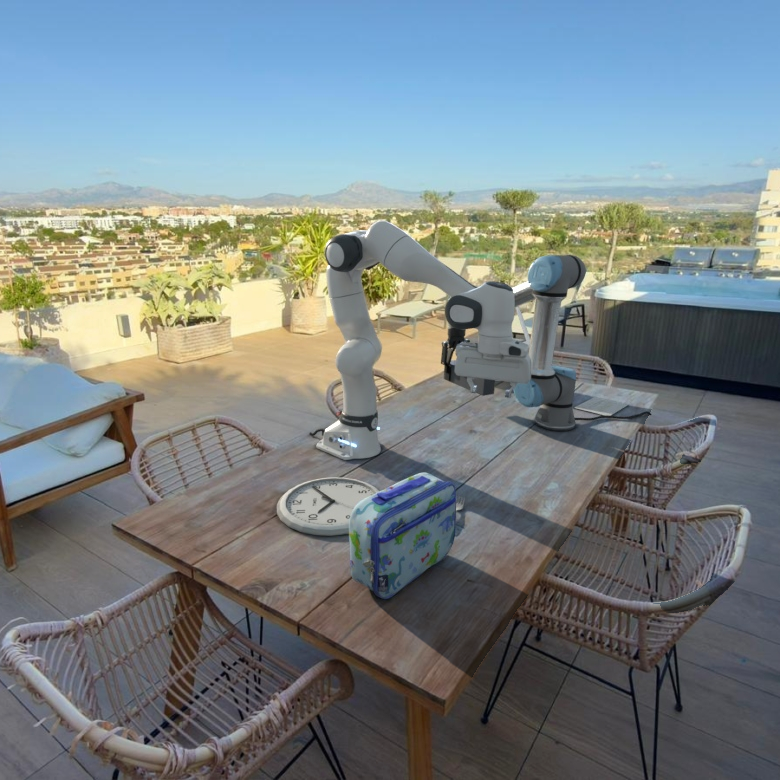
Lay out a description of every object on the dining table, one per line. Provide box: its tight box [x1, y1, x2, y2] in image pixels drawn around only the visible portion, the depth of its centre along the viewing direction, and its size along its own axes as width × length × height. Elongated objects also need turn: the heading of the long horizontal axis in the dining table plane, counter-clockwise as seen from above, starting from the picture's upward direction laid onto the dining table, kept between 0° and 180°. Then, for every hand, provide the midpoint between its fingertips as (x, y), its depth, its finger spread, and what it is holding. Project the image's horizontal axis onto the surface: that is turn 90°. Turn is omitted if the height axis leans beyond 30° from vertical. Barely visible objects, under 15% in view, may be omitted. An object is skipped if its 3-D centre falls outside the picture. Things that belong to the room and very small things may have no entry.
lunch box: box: [348, 471, 457, 600], centre depth 113 cm, size 26×11×21 cm, turn 134°
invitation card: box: [573, 396, 629, 416], centre depth 226 cm, size 21×1×15 cm
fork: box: [456, 494, 466, 512], centre depth 138 cm, size 3×16×2 cm, turn 160°
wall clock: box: [276, 476, 381, 537], centre depth 142 cm, size 30×2×30 cm
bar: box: [443, 359, 496, 397], centre depth 220 cm, size 26×6×8 cm, turn 31°
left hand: (490, 394), depth 142 cm, fingers open, 8 cm apart
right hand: (453, 379), depth 229 cm, fingers closed on bar, 6 cm apart
